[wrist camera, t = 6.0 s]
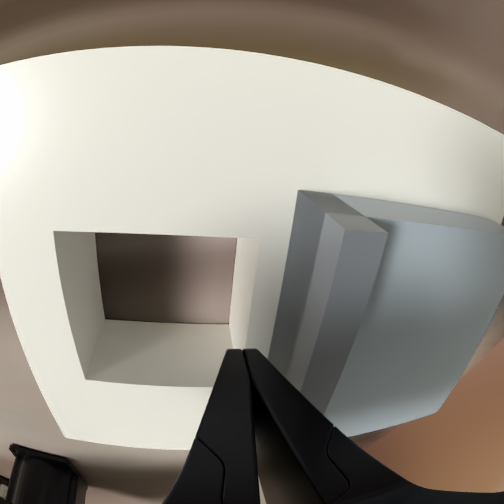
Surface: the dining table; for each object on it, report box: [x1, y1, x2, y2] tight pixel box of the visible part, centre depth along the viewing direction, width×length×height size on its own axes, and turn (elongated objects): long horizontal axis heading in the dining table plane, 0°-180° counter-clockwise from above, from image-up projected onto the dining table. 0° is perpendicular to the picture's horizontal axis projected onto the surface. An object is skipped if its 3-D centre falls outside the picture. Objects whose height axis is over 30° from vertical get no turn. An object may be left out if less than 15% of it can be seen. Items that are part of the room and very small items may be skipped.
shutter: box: [268, 190, 504, 437], centre depth 10 cm, size 8×9×3 cm
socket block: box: [0, 46, 504, 450], centre depth 12 cm, size 19×16×4 cm
